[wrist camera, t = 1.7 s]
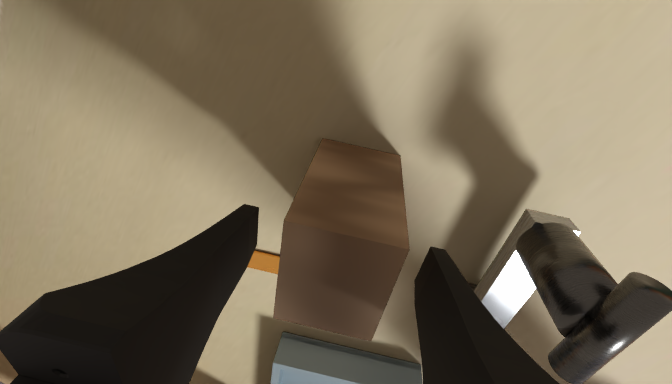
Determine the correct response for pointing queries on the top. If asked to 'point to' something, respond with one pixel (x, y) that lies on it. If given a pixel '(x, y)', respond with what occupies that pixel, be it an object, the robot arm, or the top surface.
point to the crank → (571, 294)
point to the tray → (336, 364)
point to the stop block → (343, 241)
